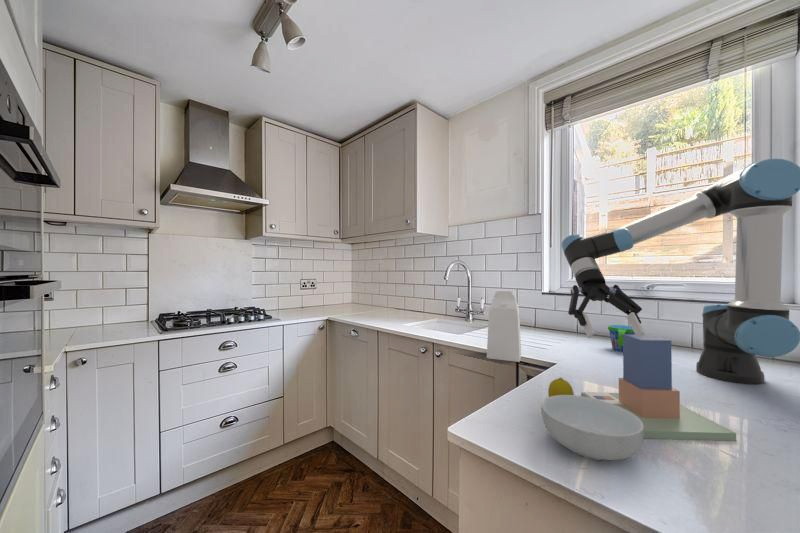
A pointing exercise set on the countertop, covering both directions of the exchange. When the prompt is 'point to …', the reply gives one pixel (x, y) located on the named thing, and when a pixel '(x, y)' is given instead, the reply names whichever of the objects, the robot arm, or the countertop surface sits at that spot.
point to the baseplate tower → (663, 413)
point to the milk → (504, 328)
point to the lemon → (560, 388)
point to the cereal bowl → (592, 427)
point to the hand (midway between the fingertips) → (616, 335)
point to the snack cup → (619, 335)
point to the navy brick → (647, 361)
